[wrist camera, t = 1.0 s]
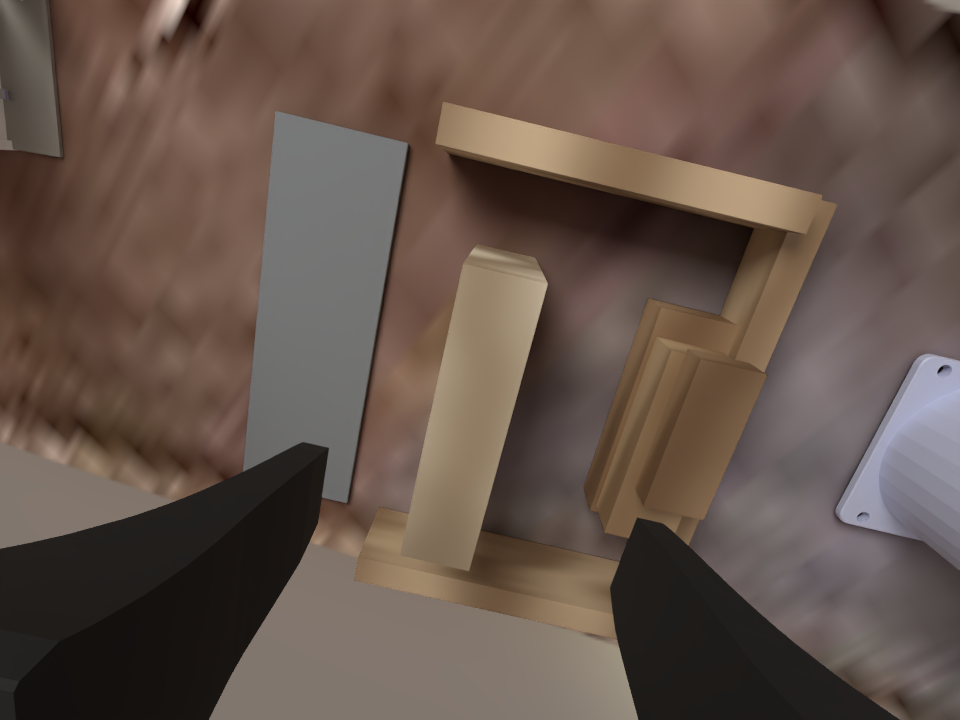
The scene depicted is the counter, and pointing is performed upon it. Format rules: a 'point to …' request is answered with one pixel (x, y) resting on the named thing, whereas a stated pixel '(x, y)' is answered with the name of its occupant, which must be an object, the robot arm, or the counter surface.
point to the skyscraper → (28, 79)
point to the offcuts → (671, 420)
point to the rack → (750, 304)
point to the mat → (321, 290)
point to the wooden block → (473, 403)
